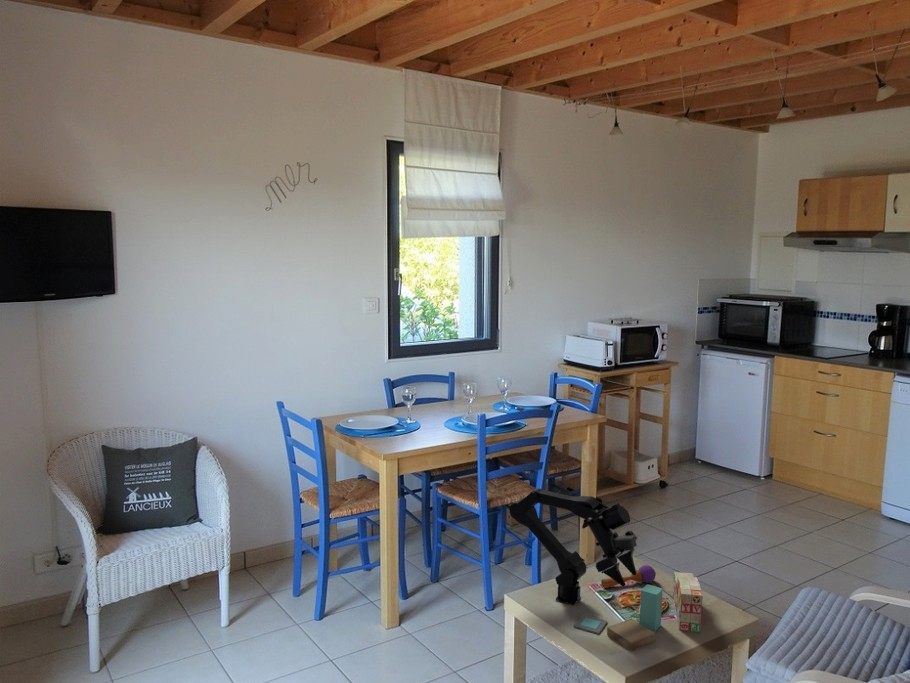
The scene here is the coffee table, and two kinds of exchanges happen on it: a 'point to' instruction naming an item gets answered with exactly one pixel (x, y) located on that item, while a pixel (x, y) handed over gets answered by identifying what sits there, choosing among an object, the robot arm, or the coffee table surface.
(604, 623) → the slate tile
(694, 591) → the stack of blocks
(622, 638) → the walnut slab
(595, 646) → the coffee table surface
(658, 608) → the teal pillar
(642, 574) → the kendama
